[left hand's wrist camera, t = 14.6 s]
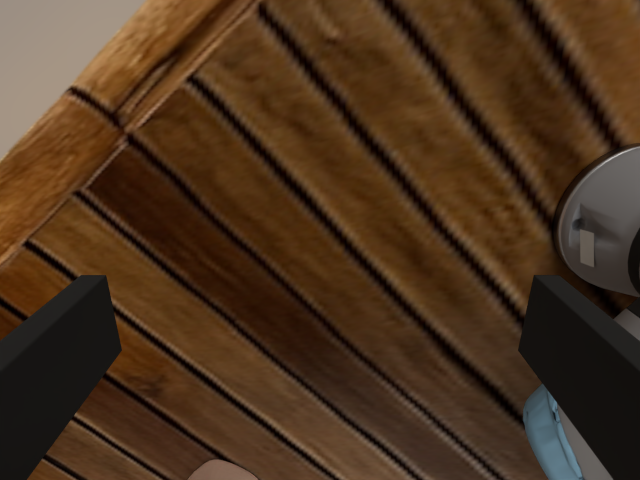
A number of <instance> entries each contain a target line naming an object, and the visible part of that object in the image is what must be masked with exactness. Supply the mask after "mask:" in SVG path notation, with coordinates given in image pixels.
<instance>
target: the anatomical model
mask: <svg viewBox="0 0 640 480" xmlns="http://www.w3.org/2000/svg"><path fill="white" fill-rule="evenodd" d="M188 480H258V479H257V478H256V477H255V476H254V475H253V474H251V473H250V472H248V471H247V470H245V469H243V468H241V467H239V466H237V465H234V464H232V463H229V462H226V461H223V460H218V459H214V460H210V461H208V462H206V463H204V464H203V465H202V466H200V467H199V468H198V469H197V470H196V471H194V472H193V473H192V475H191V476H190V477H189V478H188Z"/></svg>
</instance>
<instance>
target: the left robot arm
mask: <svg viewBox="0 0 640 480" xmlns="http://www.w3.org/2000/svg"><path fill="white" fill-rule="evenodd" d="M553 235H554V243H555V246H556V250H557V252H558V254H559V256H560V258H561V260H562V261H563V262H564V264H565V265H566V266H567V267H568V268H569V269H570V270H571V271H573V272H574V273H575V274H577V275H578V276H579V277H581V278H582V279H584V280H585V281H587V282H589V283H591V284H594V285H596V286H598V287H601V288H604V289H608V290H612V291H616V292H620V293H624V294H628V295H632V296H636V297H639V298H637V299H636V300H635V301H634V302H633V303H632V304H631V305H630V306H628V307H627V308H626V309H624V310H623V311H622V312H621V313H620V314H619V315H618V316H617V317H615V318H614V319H612V318H611V317H610V316H608V315H607V314H606V313H605V312H603V311H602V310H601V309H600V308H599V307H597V306H596V305H595V304H594V303H592V302H591V301H590V300H589V299H587V298H586V297H585V296H584V295H583V294H581V293H580V292H579V291H578V290H576V289H575V288H574V287H573V286H572V285H570V284H569V283H568V282H567V281H565V280H564V279H563V278H562V277H560V276H559V275H534V277H533V282H532V287H531V292H530V296H529V301H528V306H527V311H526V315H525V320H524V325H523V330H522V334H521V339H520V344H519V349H518V351H519V352H520V353H521V355H522V356H523V358H524V359H525V360H526V362H527V363H528V364H529V366H530V367H531V368H532V370H533V371H534V372H535V374H536V375H537V377H538V378H539V379H540V381H541V382H542V384H541V385H540V386H539V387H538V388H537V389H536V390H535V391H534V392H533V393H532V394H531V395H530V396H529V397H528V399H527V400H526V402H525V405H524V409H523V421H524V424H525V431H526V434H527V437H528V440H529V443H530V445H531V448H532V450H533V452H534V454H535V456H536V458H537V460H538V462H539V464H540V466H541V467H542V469H543V471H544V473H545V474H546V476H547V477H548V479H549V480H640V143H636V144H631V145H627V146H624V147H621V148H618V149H615V150H613V151H611V152H609V153H607V154H605V155H603V156H601V157H600V158H598V159H597V160H595V161H594V162H592V163H591V164H590V165H588V166H587V167H586V168H585V169H584V170H583V171H582V172H581V173H580V174H579V175H578V176H577V177H576V178H575V179H574V180H573V182H572V183H571V184H570V186H569V187H568V188H567V190H566V191H565V193H564V195H563V197H562V199H561V201H560V203H559V205H558V208H557V211H556V215H555V219H554V227H553ZM121 351H122V349H121V344H120V339H119V334H118V330H117V325H116V320H115V315H114V311H113V306H112V301H111V296H110V292H109V287H108V282H107V277H106V275H81V276H80V277H78V278H77V279H76V280H75V281H73V282H72V283H71V284H70V285H68V286H67V287H66V288H65V289H64V290H62V291H61V292H60V293H59V294H57V295H56V296H55V297H54V298H53V299H51V300H50V301H49V302H48V303H46V304H45V305H44V306H43V307H41V308H40V309H39V310H38V311H37V312H35V313H34V314H33V315H32V316H30V317H29V318H28V319H27V320H25V321H24V322H23V323H22V324H21V325H19V326H18V327H17V328H16V329H14V330H13V331H12V332H11V333H9V334H8V335H7V336H6V337H5V338H3V339H2V340H1V341H0V480H27V478H28V477H29V476H30V474H31V473H32V472H33V470H34V469H35V468H36V466H37V465H38V464H39V462H40V461H41V459H42V458H43V457H44V455H45V454H46V453H47V451H48V450H49V449H50V447H51V446H52V444H53V443H54V442H55V440H56V439H57V438H58V436H59V435H60V434H61V432H62V431H63V430H64V428H65V427H66V425H67V424H68V423H69V421H70V420H71V419H72V417H73V416H74V415H75V413H76V412H77V411H78V409H79V408H80V406H81V405H82V404H83V402H84V401H85V400H86V398H87V397H88V396H89V394H90V393H91V391H92V390H93V389H94V387H95V386H96V385H97V383H98V382H99V381H100V379H101V378H102V377H103V375H104V374H105V372H106V371H107V370H108V368H109V367H110V366H111V364H112V363H113V362H114V360H115V359H116V358H117V356H118V355H119V353H120V352H121Z"/></svg>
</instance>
